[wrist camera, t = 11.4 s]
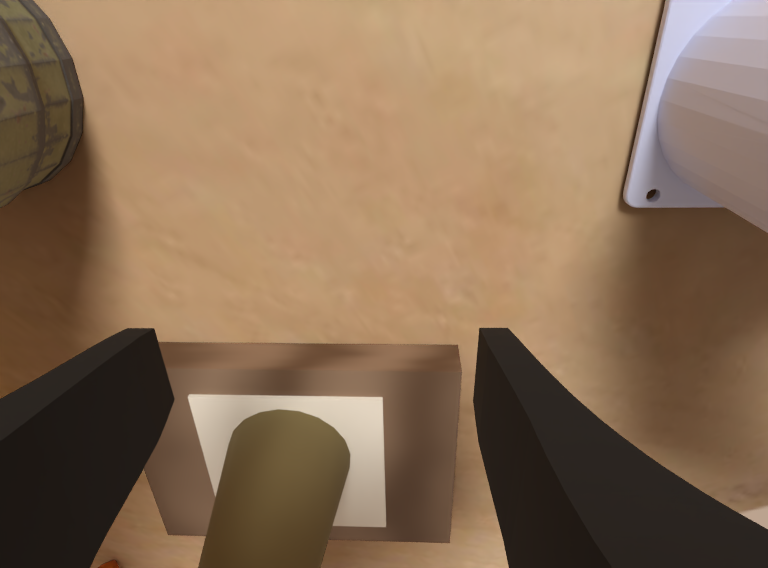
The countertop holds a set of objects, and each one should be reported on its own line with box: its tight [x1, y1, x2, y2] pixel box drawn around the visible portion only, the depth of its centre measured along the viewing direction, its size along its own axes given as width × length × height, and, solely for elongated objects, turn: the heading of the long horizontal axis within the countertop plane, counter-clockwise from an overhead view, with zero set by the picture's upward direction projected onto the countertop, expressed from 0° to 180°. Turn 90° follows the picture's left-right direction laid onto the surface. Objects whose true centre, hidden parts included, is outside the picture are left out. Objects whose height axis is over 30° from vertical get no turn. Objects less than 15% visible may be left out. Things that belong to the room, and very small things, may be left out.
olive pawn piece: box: [198, 409, 351, 568], centre depth 19 cm, size 6×6×11 cm
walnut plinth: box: [144, 342, 462, 543], centre depth 25 cm, size 16×12×2 cm
